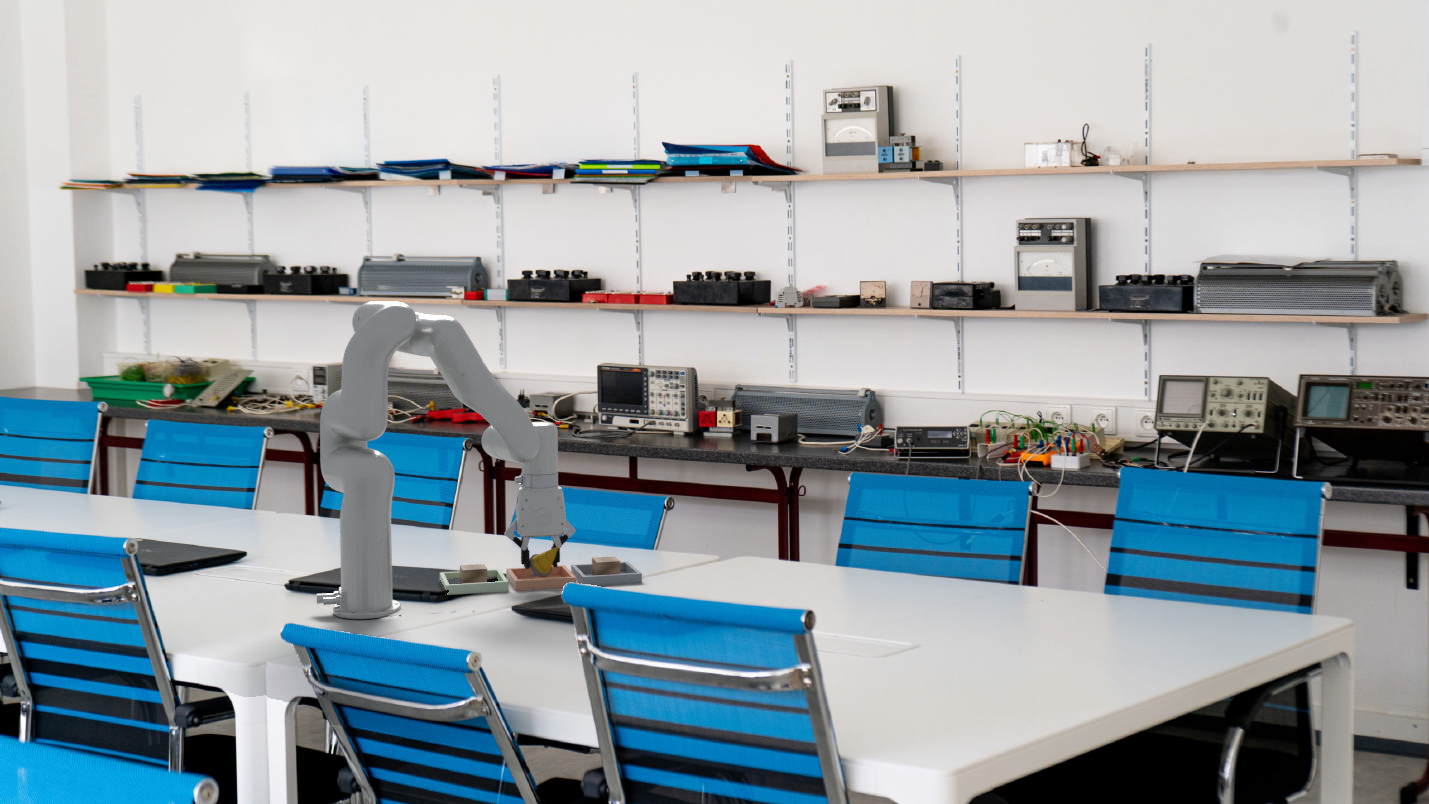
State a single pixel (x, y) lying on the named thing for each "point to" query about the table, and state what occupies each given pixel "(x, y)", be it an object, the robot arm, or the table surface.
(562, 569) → the terracotta dish
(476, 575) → the walnut block
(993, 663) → the table surface
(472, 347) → the robot arm
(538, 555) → the mustard yellow cone
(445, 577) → the sage tray
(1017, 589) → the table surface
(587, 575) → the grey tray
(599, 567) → the walnut block
